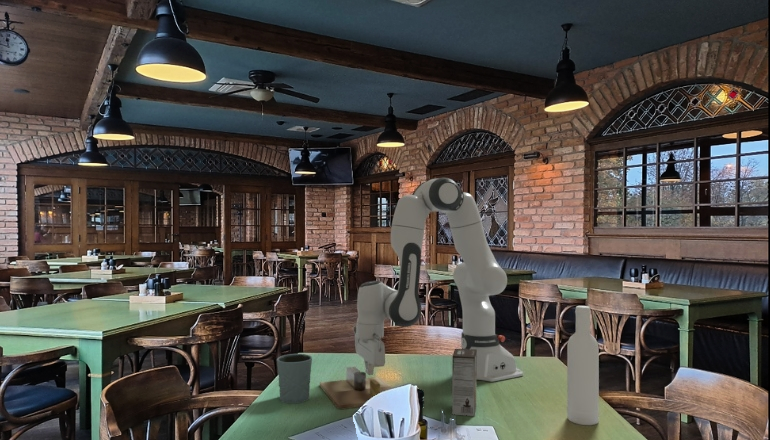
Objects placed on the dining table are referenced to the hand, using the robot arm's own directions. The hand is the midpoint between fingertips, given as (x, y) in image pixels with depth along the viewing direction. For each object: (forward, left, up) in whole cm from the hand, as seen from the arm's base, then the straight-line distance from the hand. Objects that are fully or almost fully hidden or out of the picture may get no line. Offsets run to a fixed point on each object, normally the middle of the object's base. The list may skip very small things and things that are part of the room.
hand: (369, 373), depth 169 cm
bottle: (-43, +49, -3) cm, 65 cm away
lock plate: (+6, +8, -3) cm, 10 cm away
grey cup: (+26, +7, -3) cm, 27 cm away
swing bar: (+6, +4, -2) cm, 7 cm away
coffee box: (-17, +32, -3) cm, 37 cm away
